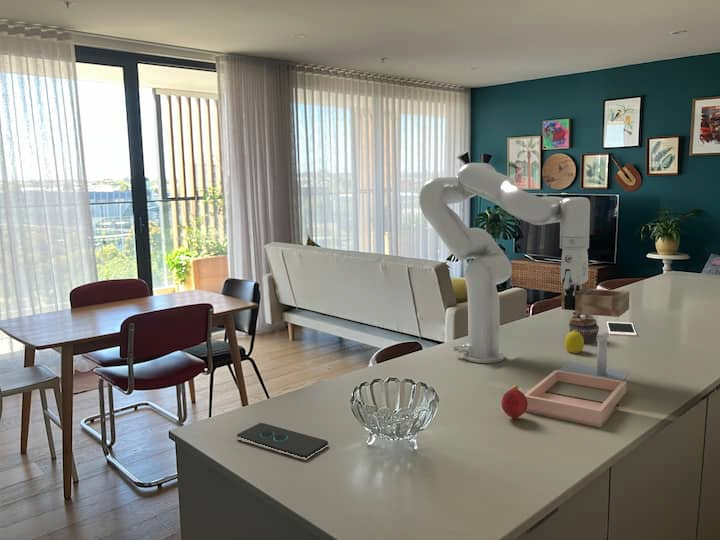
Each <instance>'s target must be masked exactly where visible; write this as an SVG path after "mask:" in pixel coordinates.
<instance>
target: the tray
mask: <svg viewBox="0 0 720 540" xmlns="http://www.w3.org/2000/svg"><path fill="white" fill-rule="evenodd" d="M558 382H561V383H562V382H563V383H566V384H571V385H572V384H573V385H578V386H584V387H589V388H594V389H595V388H596V389H602V390H606V391H611V393H610V394H609V396H608V397H607V398H606V399H605V400H604V401H599V400H593V399H589V398H584V397H583V398H582V397H578V396H572V395H569V394H568V395H567V394H561V393H556V392H552V391H548V390H549V389H550V388H551V387H552V386H554V384H556V383H558ZM627 384H628V381H625V380H623V381H620V380H614V379H608V378H602V377H596V376H590V375H584V374H578V373H571V372H565V371H559V369H554V370H553V371H552V372H551V373H550V374H547V376H546V377H544V378H543V379H542V380H541V381H539V382H538V383H537V384H535V385H534V386H533V387H532V388H531V389H529V390H528V391H527V392H525V393H523V394H524V395H525V397H526V399H527V402H528V406H527V410H526V412H525V413H530V414H534V415H539V416H544V417H549V418H553V419H558V420H562V421H568V422H571V423H575V424H582V425H586V426H591V427H595V428H599V429H601V428H602V427H603V425H605V423H606V422H607V421H608V419H610V417H611V415H612V414H613V413H614V412H615V411H616V410H617V408H618V407H619V406H620V405H619V404H618V403H619V401H620V400H621V399H622V398H623V396H625V394H626V393H627V390H628V389H627Z"/></svg>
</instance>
